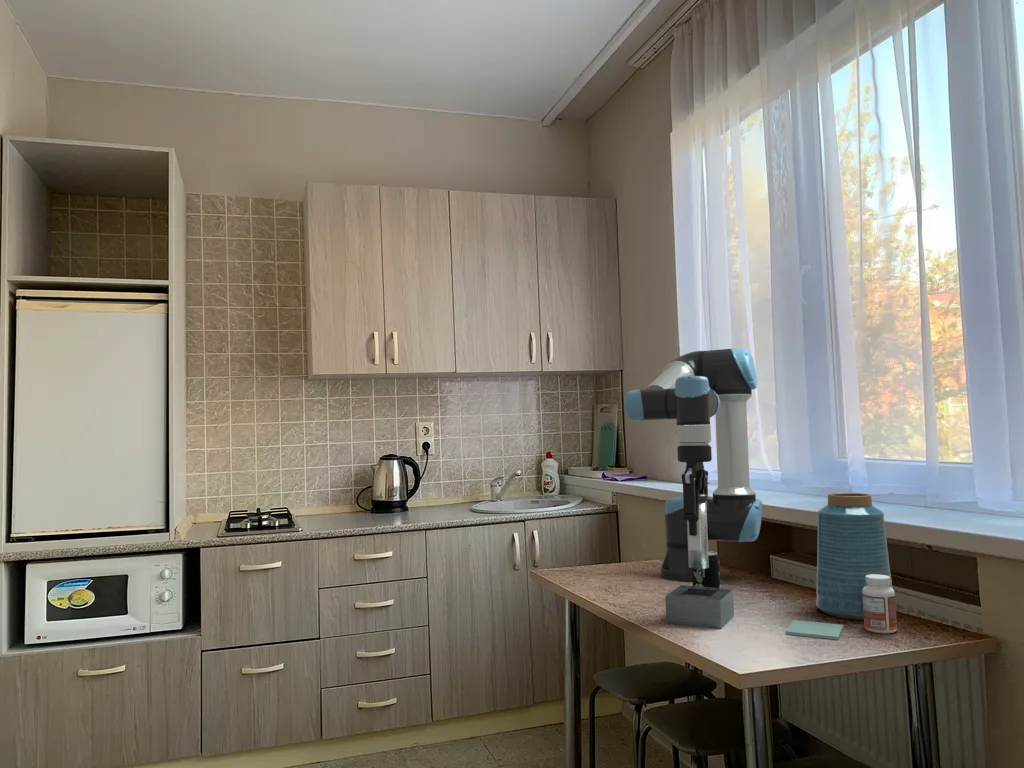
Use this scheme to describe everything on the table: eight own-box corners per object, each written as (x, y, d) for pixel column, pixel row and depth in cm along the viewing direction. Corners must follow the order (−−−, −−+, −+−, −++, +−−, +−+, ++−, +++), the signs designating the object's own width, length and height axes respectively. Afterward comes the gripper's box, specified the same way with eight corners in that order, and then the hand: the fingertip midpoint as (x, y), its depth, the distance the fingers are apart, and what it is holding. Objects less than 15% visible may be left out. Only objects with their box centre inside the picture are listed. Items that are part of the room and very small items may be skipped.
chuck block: (682, 610, 178) (681, 585, 178) (734, 615, 172) (733, 589, 173) (666, 623, 168) (665, 595, 168) (721, 628, 162) (720, 600, 162)
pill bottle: (887, 625, 161) (884, 572, 162) (903, 633, 155) (900, 578, 156) (858, 626, 161) (855, 573, 161) (874, 634, 155) (871, 579, 155)
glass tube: (690, 564, 174) (688, 493, 175) (712, 565, 171) (710, 493, 172) (684, 568, 169) (682, 495, 170) (707, 569, 167) (704, 495, 168)
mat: (793, 622, 165) (793, 620, 165) (843, 627, 160) (843, 624, 160) (785, 634, 156) (785, 631, 156) (838, 639, 152) (838, 636, 152)
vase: (899, 608, 175) (893, 492, 177) (889, 625, 162) (882, 498, 163) (825, 601, 184) (819, 490, 186) (809, 615, 171) (803, 496, 172)
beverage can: (721, 605, 182) (719, 555, 183) (693, 605, 184) (691, 554, 184) (720, 599, 189) (718, 550, 190) (692, 598, 190) (691, 550, 191)
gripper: (688, 443, 182) (692, 542, 180) (666, 445, 166) (669, 553, 165) (720, 443, 178) (724, 543, 177) (700, 445, 163) (704, 555, 161)
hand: (697, 548), depth 171 cm, fingers closed on glass tube, 4 cm apart
